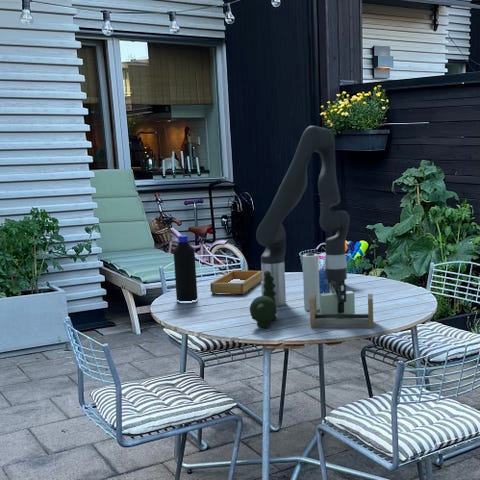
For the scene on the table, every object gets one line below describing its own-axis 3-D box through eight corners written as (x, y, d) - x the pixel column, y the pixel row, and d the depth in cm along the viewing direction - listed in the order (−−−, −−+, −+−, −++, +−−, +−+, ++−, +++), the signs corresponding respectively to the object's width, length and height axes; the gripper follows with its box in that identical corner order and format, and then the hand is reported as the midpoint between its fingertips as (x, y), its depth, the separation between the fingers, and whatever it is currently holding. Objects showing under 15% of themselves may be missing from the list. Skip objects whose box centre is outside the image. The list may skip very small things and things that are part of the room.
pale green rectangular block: (322, 320, 223) (322, 295, 222) (320, 317, 227) (319, 293, 225) (355, 317, 225) (354, 292, 224) (351, 314, 228) (351, 290, 227)
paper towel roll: (318, 311, 235) (316, 255, 232) (302, 311, 237) (300, 255, 234) (322, 306, 242) (320, 252, 239) (307, 306, 244) (305, 252, 241)
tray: (232, 281, 302) (231, 269, 302) (262, 281, 298) (261, 270, 297) (210, 295, 273) (210, 283, 273) (243, 296, 269) (243, 283, 268)
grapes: (341, 292, 264) (340, 265, 262) (340, 296, 257) (339, 268, 256) (313, 292, 266) (312, 265, 265) (312, 296, 260) (311, 268, 258)
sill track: (310, 327, 214) (309, 299, 213) (312, 321, 222) (311, 294, 220) (373, 328, 210) (372, 299, 208) (373, 321, 217) (372, 293, 216)
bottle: (194, 304, 258) (190, 237, 254) (174, 304, 260) (169, 237, 256) (200, 298, 266) (196, 234, 262) (180, 299, 268) (176, 234, 264)
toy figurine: (258, 319, 235) (246, 332, 211) (256, 269, 234) (244, 276, 210) (283, 319, 234) (274, 332, 209) (281, 269, 233) (272, 276, 208)
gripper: (352, 268, 217) (353, 314, 219) (339, 262, 231) (341, 304, 233) (331, 270, 216) (333, 316, 218) (320, 263, 230) (321, 306, 232)
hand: (337, 310), depth 225 cm, fingers open, 8 cm apart
